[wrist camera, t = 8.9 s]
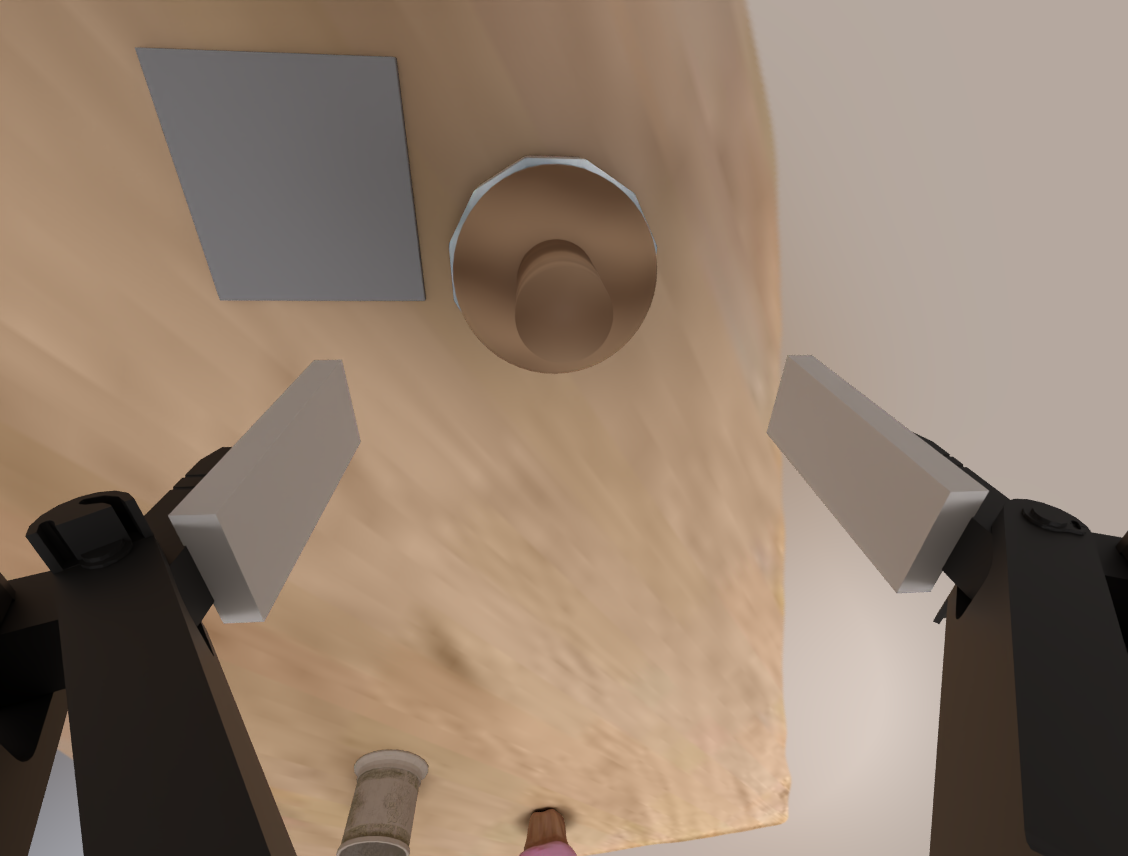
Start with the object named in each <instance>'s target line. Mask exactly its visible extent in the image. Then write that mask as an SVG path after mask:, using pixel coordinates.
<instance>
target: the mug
mask: <svg viewBox="0 0 1128 856" xmlns="http://www.w3.org/2000/svg"><path fill="white" fill-rule="evenodd" d="M354 771H355V774H356V775H357V785H356V789H355V793H354V797H353V801H352V804H351V808H350V812H349V816H348V820H347V824H346V827H345V831H344V835H343V839H342V843H341V845H340V847H339V848H338V851H337V854H336V855H337V856H409V854H410V848H409V843H410V837H411V831H412V825H413V819H414V813H415V807H416V801H417V795H418V789H419V786H420V784H421V780H422V779H424V778H425V776H426V775H427V773H428V765H427V763H426V761H425V760H424V759H422V758H421V757H419V756H418V755H416V754H413V753H410V752H407V751H401V750H380V751H374V752H371V753H368V754H366V755H364V756H362V757H361V758H359V759H358V760H357V762H356V764H355V765H354Z"/></svg>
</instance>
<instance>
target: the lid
mask: <svg viewBox="0 0 1128 856" xmlns="http://www.w3.org/2000/svg"><path fill="white" fill-rule="evenodd" d="M656 278H657V260H656V251H655V246H654V242H653V238H652V235H651V232H650V230H649V227H648V225H647V223H646V221H645V219H644V217H643V215H642V213H641V212H640V211H639V209H638V208H637V206H636V205H635V203H634V202H633V201H632V200H631V199H630V198H629V197H628V196H627V195H626V194H625V192H623V191H622V190H621V189H620V188H618V187H617V186H616V185H615V184H614V183H612V182H610V181H609V180H607V179H605V178H604V177H602V176H600V175H598V174H596V173H594V172H591V171H589V170H586V169H584V168H580V167H576V166H572V165H564V164H543V165H537V166H533V167H528V168H525V169H522V170H520V171H517V172H514V173H513V174H511V175H509V176H507V177H505V178H503V179H502V180H500V181H499V182H498V183H496V184H495V185H494V186H492V187H491V188H490V189H489V190H488V191H487V192H486V193H485V194H484V195H483V196H482V197H481V198H480V200H479V201H478V202H477V203H476V205H475V206H474V207H473V209H472V210H471V211H470V213H469V215H468V217H467V218H466V220H465V222H464V224H463V226H462V229H461V231H460V234H459V236H458V239H457V243H456V248H455V252H454V261H453V281H454V287H455V294H456V297H457V300H458V304H459V307H460V309H461V311H462V314H463V316H464V318H465V320H466V322H467V323H468V325H469V327H470V328H471V330H472V331H473V333H474V334H475V335H476V336H477V338H478V339H479V340H480V341H481V342H482V343H483V344H484V345H485V346H486V347H487V348H488V349H489V350H491V351H492V352H493V353H494V354H496V355H497V356H498V357H500V358H502V359H503V360H505V361H507V362H508V363H511V364H513V365H515V366H518V367H520V368H523V369H527V370H530V371H535V372H540V373H553V374H557V373H569V372H574V371H579V370H582V369H585V368H588V367H591V366H593V365H596V364H598V363H600V362H602V361H604V360H605V359H607V358H609V357H610V356H612V355H613V354H614V353H616V352H617V351H618V350H620V349H621V348H622V347H623V346H624V345H625V344H626V343H627V342H628V341H629V340H630V339H631V338H632V336H633V335H634V334H635V333H636V331H637V330H638V329H639V327H640V325H641V324H642V322H643V320H644V319H645V317H646V314H647V312H648V310H649V308H650V305H651V302H652V299H653V296H654V291H655V286H656Z"/></svg>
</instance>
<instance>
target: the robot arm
mask: <svg viewBox="0 0 1128 856" xmlns="http://www.w3.org/2000/svg"><path fill="white" fill-rule="evenodd" d="M767 434H768V435H769V437H770V438H771V439H772V440H773V442H774V443H775V444H776V445H777V446H778V448H779V449H780V450H781V451H782V453H783V454H784V455H785V456H786V458H787V459H788V460H789V461H790V462H791V464H792V465H793V466H794V467H795V469H796V470H797V471H798V472H799V474H801V476H802V477H803V478H804V480H805V481H806V482H807V483H808V485H809V486H810V487H811V488H812V489H813V491H814V492H815V493H816V494H817V496H818V497H819V498H820V499H821V501H822V502H823V503H824V504H825V506H826V507H827V508H828V509H829V510H830V512H831V513H832V514H833V515H834V517H835V518H836V519H837V520H838V521H839V523H840V524H841V525H842V526H843V528H844V529H845V530H846V531H847V533H848V534H849V535H850V536H851V538H852V539H853V540H854V541H855V542H856V544H857V545H858V546H859V547H860V549H861V550H862V551H863V552H864V554H865V555H866V556H867V557H868V558H869V560H870V561H871V562H872V563H873V565H874V566H875V567H876V568H877V570H878V571H879V572H880V573H881V574H882V576H883V577H884V578H885V579H886V581H887V582H888V583H889V584H890V586H891V587H892V588H893V589H894V590H895V592H896V593H914V592H931V590H932V588H933V586H934V585H935V583H936V581H937V580H938V578H939V576H940V574H941V573H942V571H944V573H946V575H947V576H948V577H949V578H950V579H951V580H952V581H953V582H954V583H955V586H954V588H953V589H952V591H951V593H950V594H949V596H948V597H947V599H946V601H945V602H944V604H943V605H942V607H941V609H940V610H939V612H938V613H937V615H936V617H935V619H934V621H933V622H936V623H938V624H940V622H941V621H942V619H943V618H946V631H945V645H944V659H943V674H942V687H941V701H940V715H939V716H940V717H939V729H938V743H937V759H936V772H935V785H934V786H935V787H934V799H933V815H932V827H931V828H932V829H931V841H930V855H929V856H1128V531H1127V533H1126V534H1125V535H1124V537H1123V538H1121V537H1115V536H1110V535H1104V534H1098V533H1092V532H1091V531H1090V530H1089V529H1088V527H1087V526H1086V525H1085V524H1083V523H1082V522H1081V521H1080V520H1078V519H1077V518H1076V517H1074V516H1072V515H1070V514H1068V513H1066V512H1065V511H1062V510H1061V509H1058V508H1056V507H1053V506H1050V505H1047V504H1045V503H1042V502H1037V501H1033V500H1028V499H1013V500H1010V499H1008V498H1007V497H1006V496H1004V495H1003V494H1002V493H1000V492H999V491H998V490H996V489H995V488H994V487H992V486H991V485H990V484H988V483H987V482H986V481H984V480H983V479H982V478H980V477H979V476H978V475H976V474H975V473H974V472H972V471H971V470H970V469H969V468H967V467H963V464H962V463H961V462H959V461H958V460H957V459H955V458H954V457H950V456H949V455H950V454H948V453H947V452H946V451H945V450H943V449H942V448H941V447H939V446H938V445H936V444H935V443H934V442H932V441H930V440H928V439H926V438H924V437H922V436H920V435H918V434H916V433H914V432H912V431H910V430H909V429H908V428H906V427H905V426H904V425H903V424H901V423H900V422H899V421H897V420H896V419H895V418H893V417H892V416H891V415H889V414H888V413H887V412H886V411H884V410H883V409H882V408H880V407H879V406H878V405H876V404H875V403H874V402H873V401H871V400H870V399H869V398H867V397H866V396H865V395H863V394H862V393H861V392H859V391H858V390H857V389H856V388H854V387H853V386H852V385H850V384H849V383H847V382H846V381H845V380H844V379H842V378H841V377H840V376H839V375H837V374H836V373H835V372H833V371H832V370H830V369H829V368H828V367H827V366H825V365H824V364H823V363H822V362H820V361H819V360H818V359H816V358H815V357H814V356H812V355H788V356H787V359H786V363H785V366H784V370H783V374H782V378H781V381H780V385H779V389H778V393H777V396H776V400H775V404H774V407H773V411H772V415H771V419H770V422H769V426H768V430H767ZM360 442H361V440H360V436H359V432H358V427H357V423H356V419H355V414H354V410H353V406H352V401H351V397H350V393H349V388H348V384H347V380H346V375H345V371H344V367H343V362H342V360H314V361H313V362H312V363H311V364H310V365H309V366H308V367H307V368H306V369H305V370H304V371H303V372H302V374H301V375H300V376H299V377H298V378H297V379H296V380H295V381H294V382H293V383H292V384H291V385H290V386H289V387H288V388H287V390H286V391H285V392H284V393H283V394H282V395H281V396H280V397H279V398H278V399H277V400H276V401H275V402H274V403H273V404H272V405H271V407H270V408H269V409H268V410H267V411H266V412H265V413H264V414H263V415H262V416H261V417H260V418H259V419H258V420H257V421H256V423H255V424H254V425H253V426H252V427H251V428H250V429H249V430H248V431H247V432H246V433H245V434H244V435H243V436H242V437H241V438H240V440H239V441H238V442H237V443H236V444H235V445H234V446H233V447H222V448H220V449H218V450H217V451H215V452H213V453H211V454H210V455H208V456H206V457H205V458H203V459H201V460H200V461H199V462H198V463H197V464H196V465H195V466H194V467H193V468H192V469H191V470H190V471H189V472H188V473H187V474H186V475H185V478H182V479H181V480H180V481H179V482H178V483H177V484H176V485H175V486H174V487H173V490H170V491H169V492H168V493H167V494H166V495H165V496H164V497H163V498H162V499H161V500H160V501H159V502H158V503H157V504H156V505H155V506H154V507H153V508H152V509H151V510H150V511H149V512H148V513H147V514H146V515H145V516H143V514H142V512H141V510H140V508H139V507H138V505H137V503H136V501H135V499H134V498H133V497H132V496H131V495H130V494H129V493H126V492H120V491H106V492H97V493H93V494H89V495H85V496H81V497H78V498H75V499H73V500H70V501H68V502H65V503H63V504H60V505H58V506H56V507H55V508H53V509H51V510H50V511H48V512H46V513H44V514H43V515H41V516H40V517H39V518H38V519H37V520H36V521H35V522H33V523H32V524H31V525H30V526H29V528H28V531H27V533H26V538H27V539H28V540H29V542H30V543H31V545H32V546H33V547H34V549H35V550H36V551H37V553H38V554H39V556H40V557H41V558H42V560H43V561H44V562H45V564H46V565H47V566H48V568H49V569H50V571H48V572H44V573H39V574H35V575H31V576H26V577H22V578H18V579H13V580H9V581H7V580H6V579H5V578H4V576H3V575H2V574H1V573H0V856H28V853H29V849H30V845H31V842H32V838H33V835H34V831H35V827H36V824H37V820H38V816H39V813H40V809H41V805H42V802H43V798H44V795H45V791H46V787H47V784H48V780H49V776H50V772H51V769H52V765H53V762H54V758H55V754H56V751H57V747H58V744H59V740H60V736H61V733H62V729H63V725H64V722H65V718H66V714H67V711H68V714H69V723H70V733H71V742H72V751H73V760H74V769H75V779H76V787H77V797H78V806H79V816H80V825H81V834H82V843H83V853H84V856H297V855H296V852H295V850H294V847H293V845H292V842H291V840H290V837H289V835H288V832H287V830H286V827H285V825H284V822H283V820H282V817H281V815H280V812H279V810H278V807H277V805H276V802H275V800H274V797H273V795H272V792H271V790H270V787H269V785H268V782H267V780H266V777H265V775H264V772H263V770H262V767H261V765H260V762H259V760H258V757H257V755H256V752H255V750H254V747H253V745H252V742H251V740H250V737H249V735H248V732H247V730H246V727H245V725H244V722H243V720H242V717H241V715H240V712H239V710H238V707H237V705H236V702H235V700H234V697H233V695H232V692H231V690H230V687H229V685H228V682H227V680H226V677H225V675H224V672H223V670H222V667H221V665H220V662H219V660H218V657H217V655H216V652H215V650H214V647H213V645H212V642H211V640H210V637H209V635H208V632H207V630H206V628H205V627H204V625H203V623H202V619H203V618H204V616H205V615H206V613H207V612H208V610H209V609H210V607H211V606H212V604H214V606H215V608H216V610H217V612H218V614H219V615H220V617H221V619H222V621H223V623H244V622H264V621H265V619H266V617H267V615H268V613H269V612H270V610H271V608H272V606H273V604H274V602H275V600H276V599H277V597H278V595H279V593H280V591H281V589H282V587H283V586H284V584H285V582H286V580H287V578H288V576H289V574H290V572H291V571H292V569H293V567H294V565H295V563H296V561H297V559H298V558H299V556H300V554H301V552H302V550H303V548H304V546H305V545H306V543H307V541H308V539H309V537H310V535H311V533H312V532H313V530H314V528H315V526H316V524H317V522H318V520H319V518H320V517H321V515H322V513H323V511H324V509H325V507H326V505H327V504H328V502H329V500H330V498H331V496H332V494H333V492H334V491H335V489H336V487H337V485H338V483H339V481H340V479H341V478H342V476H343V474H344V472H345V470H346V468H347V466H348V464H349V463H350V461H351V459H352V457H353V455H354V453H355V451H356V450H357V448H358V446H359V444H360Z"/></svg>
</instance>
